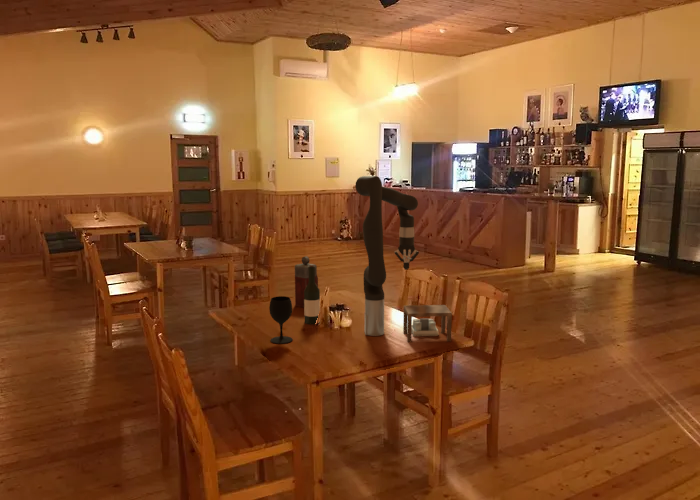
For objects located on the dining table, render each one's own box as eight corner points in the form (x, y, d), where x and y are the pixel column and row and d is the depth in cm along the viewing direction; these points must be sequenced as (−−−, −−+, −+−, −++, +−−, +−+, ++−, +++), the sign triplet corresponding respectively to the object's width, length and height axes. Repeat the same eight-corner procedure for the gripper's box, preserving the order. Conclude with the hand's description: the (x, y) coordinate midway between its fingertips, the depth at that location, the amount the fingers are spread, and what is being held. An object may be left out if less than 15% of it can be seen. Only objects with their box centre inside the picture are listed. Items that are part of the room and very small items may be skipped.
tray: (413, 336, 274) (413, 322, 273) (410, 329, 284) (410, 316, 283) (438, 335, 275) (438, 321, 274) (434, 329, 285) (434, 315, 284)
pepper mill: (320, 303, 333) (319, 255, 328) (306, 307, 325) (305, 258, 320) (308, 301, 339) (308, 254, 334) (295, 305, 330) (294, 256, 326)
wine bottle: (301, 323, 295) (300, 265, 290) (308, 319, 303) (307, 262, 298) (316, 325, 292) (315, 266, 287) (323, 320, 300) (322, 263, 294)
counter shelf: (407, 342, 266) (408, 313, 264) (403, 332, 280) (403, 305, 278) (450, 341, 267) (451, 312, 265) (444, 331, 281) (445, 304, 279)
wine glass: (274, 345, 262) (273, 302, 259) (267, 338, 271) (265, 297, 268) (296, 341, 267) (295, 299, 263) (287, 335, 276) (287, 294, 273)
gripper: (418, 234, 296) (417, 267, 299) (392, 234, 296) (392, 268, 299) (421, 236, 289) (420, 270, 292) (394, 237, 288) (394, 271, 291)
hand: (406, 269), depth 295 cm, fingers closed
